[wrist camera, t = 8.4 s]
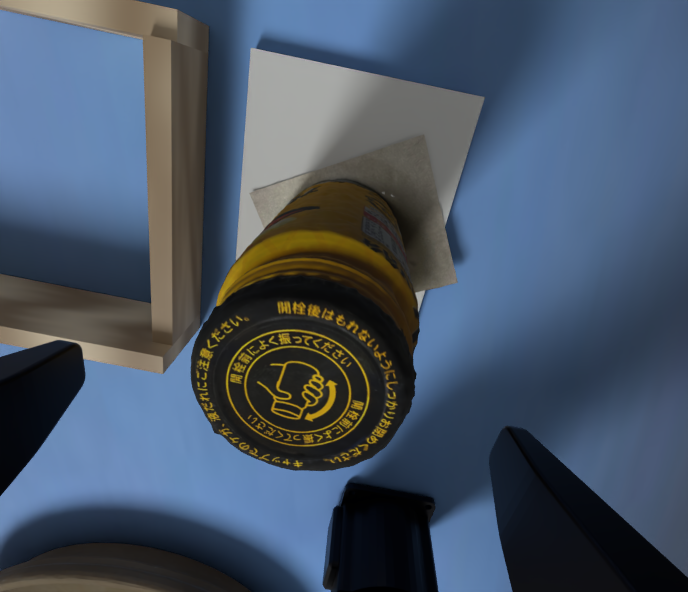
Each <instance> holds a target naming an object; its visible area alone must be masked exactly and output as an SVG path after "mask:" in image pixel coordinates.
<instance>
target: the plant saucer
mask: <svg viewBox="0 0 688 592" xmlns="http://www.w3.org/2000/svg"><path fill="white" fill-rule="evenodd" d="M0 592H251V591H250V590H248V589H247V588H246V587H245V586H243V585H242V584H240V583H239V582H237V581H236V580H234V579H233V578H231V577H229V576H227V575H226V574H224V573H222V572H220V571H218V570H216V569H214V568H212V567H210V566H208V565H205V564H203V563H201V562H198V561H195V560H193V559H190V558H187V557H185V556H181V555H178V554H175V553H172V552H168V551H164V550H160V549H156V548H151V547H145V546H139V545H132V544H120V543H87V544H78V545H71V546H66V547H62V548H57V549H54V550H51V551H48V552H45V553H43V554H41V555H38V556H36V557H34V558H32V559H31V560H29V561H27V562H24V563H21V564H18V565H15V566H12V567H9V568H6V569H4V570H2V571H0Z"/></svg>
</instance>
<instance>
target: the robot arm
mask: <svg viewBox="0 0 688 592" xmlns="http://www.w3.org/2000/svg"><path fill="white" fill-rule="evenodd" d="M84 381H85V367H84V359H83V351H82V347H81V346H80V345H79V344H78V343H75V342H69V341H64V340H55V341H52V342H48V343H45V344H42V345H38V346H35V347H32V348H29V349H25V350H22V351H19V352H15V353H12V354H9V355H6V356H2V357H0V496H1V495H2V494H3V492H4V491H5V490H6V489H7V488H8V486H9V485H10V484H11V483H12V482H13V480H14V479H15V478H16V477H17V476H18V474H19V473H20V472H21V471H22V470H23V468H24V467H25V466H26V465H27V464H28V462H29V461H30V460H31V459H32V457H33V456H34V455H35V454H36V452H37V451H38V450H39V448H40V447H41V446H42V444H43V443H44V442H45V440H46V439H47V437H48V436H49V434H50V433H51V431H52V430H53V428H54V427H55V426H56V424H57V423H58V421H59V420H60V418H61V417H62V415H63V414H64V412H65V411H66V409H67V408H68V407H69V405H70V404H71V402H72V401H73V399H74V398H75V396H76V395H77V393H78V392H79V390H80V389H81V387H82V386H83V384H84ZM489 466H490V474H491V481H492V488H493V495H494V503H495V510H496V517H497V524H498V530H499V536H500V541H501V545H502V550H503V554H504V558H505V562H506V566H507V570H508V575H509V579H510V583H511V587H512V591H513V592H688V577H687V576H685V575H684V574H683V573H682V572H681V571H680V570H679V569H678V568H677V567H676V566H675V565H673V564H672V563H671V562H670V561H669V560H668V559H667V558H666V557H665V556H664V555H663V554H661V553H660V552H659V551H658V550H657V549H656V548H655V547H654V546H653V545H652V544H650V543H649V542H648V541H647V540H646V539H645V538H644V537H643V536H642V535H641V534H640V533H638V532H637V531H636V530H635V529H634V528H633V527H632V526H631V525H630V524H629V523H627V522H626V521H625V520H624V519H623V518H622V517H621V516H620V515H619V514H618V513H617V512H615V511H614V510H613V509H612V508H611V507H610V506H609V505H608V504H607V503H606V502H604V501H603V500H602V499H601V498H600V497H599V496H598V495H597V494H596V493H595V492H594V491H592V490H591V489H590V488H589V487H588V486H587V485H586V484H585V483H584V482H583V481H582V480H580V479H579V478H578V477H577V476H576V475H575V474H574V473H573V472H572V471H571V470H569V469H568V468H567V467H566V466H565V465H564V464H563V463H562V462H561V461H560V460H559V459H557V458H556V457H555V456H554V455H553V454H552V453H551V452H550V451H549V450H548V449H546V448H545V447H544V446H543V445H542V444H541V443H540V442H539V441H538V440H537V439H536V438H534V437H533V436H532V435H531V434H530V433H529V432H528V431H527V430H525V429H523V428H518V427H513V426H505V427H503V428H502V430H501V432H500V434H499V436H498V438H497V440H496V442H495V444H494V446H493V448H492V450H491V452H490V456H489ZM434 510H435V501H434V499H432V498H430V497H424V496H419V495H414V494H408V493H403V492H398V491H392V490H387V489H381V488H376V487H371V486H365V485H360V484H355V483H349V484H347V485H346V486H345V488H344V492H343V496H342V499H341V503H340V506H336V507H335V508H334V509H333V513H332V517H331V520H330V524H329V528H328V536H327V546H326V556H325V565H324V575H323V586H324V588H325V589H328V590H331V592H438V585H437V578H436V571H435V564H434V557H433V550H432V543H431V535H430V528H429V522H430V519H431V517H432V515H433V512H434Z"/></svg>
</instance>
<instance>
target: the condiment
mask: <svg viewBox="0 0 688 592" xmlns="http://www.w3.org/2000/svg"><path fill="white" fill-rule="evenodd" d="M382 192H385V194H383V193H382ZM249 194H250V196H251V198H252V201H253V203H254V206H255V208H256V210H257V213H258V215H259V218H260V219H261V222H262V225H263V227H264V230H263V231H262V232H261V233H260V234H259V235H258V236H257V237H256V238H255V239H254V240H253V242H252V243H251V244H250V245H249V246H248V247H247V248H246V249H245V251H244V252H243V253H242V254H241V256H240V257H239V258H238V259H237V260H236V262H235V263H234V264H233V266H232V267H231V269H230V270H229V272H228V274H227V276H226V278H225V281H224V283H223V285H222V287H221V290H220V292H219V295H218V300H217V304H216V307H215V308H214V309H213V311H212V313H211V315H210V316H209V319H208V320H207V321H206V322H205V323H204V324H203V327H202V329H201V331H200V332H199V335H198V337H197V339H196V341H195V344H194V347H193V352H192V356H191V382H192V388H193V391H194V393H195V396H196V399H197V401H198V403H199V405H200V406H201V408H202V410H203V412H204V414H205V416H206V418H207V419H208V421H209V422H210V423H211V425H212V428H213V431H214V433H216V434H220V435H222V436H223V437H225V438H226V440H227V441H228V442H229V443H230V444H232V445H233V446H234V447H236V448H237V449H238V450H240V451H241V452H243V453H245V454H247V455H249V456H251V457H253V458H256V459H258V460H261V461H264V462H266V463H268V464H271V465H274V466H278V467H281V468H285V469H290V470H310V471H326V470H335V469H339V468H344V467H350V466H354V465H356V464H358V463H360V462H362V461H364V460H367V459H370V458H372V457H373V456H374V455H375V454H377V453H378V452H379V451H380V450H382V449H383V448H385V447H386V446H387V444H388V443H389V442H390V440H391V439H392V438H393V436H394V435H395V433H396V431H397V430H398V428H399V427H400V425H401V424H402V422H403V421H404V419H405V417H406V415H407V414H408V413H409V412H410V408H411V405H412V399H413V397H414V396H415V391H414V390H415V385H414V382H415V379H416V372H415V370H414V366H413V353H414V349H415V347H416V345H417V341H418V334H419V332H420V329H419V313H418V301H417V297H416V294H415V293H416V292H420V291H424V290H429V289H434V288H439V287H442V286H446V285H450V284H454V283H457V278H456V273H455V269H454V265H453V261H452V256H451V252H450V248H449V243H448V239H447V234H446V230H445V226H444V221H443V217H442V212H441V208H440V204H439V201H438V194H437V190H436V186H435V180H434V176H433V172H432V168H431V163H430V158H429V153H428V149H427V144H426V140H425V136H424V134H423V135H420V136H417V137H414V138H411V139H409V140H406V141H403V142H400V143H396V144H393V145H390V146H388V147H385V148H382V149H379V150H376V151H373V152H370V153H367V154H364V155H361V156H358V157H355V158H352V159H349V160H346V161H343V162H340V163H337V164H334V165H331V166H328V167H325V168H322V169H319V170H316V171H313V172H310V173H307V174H304V175H301V176H298V177H295V178H292V179H289V180H286V181H283V182H280V183H277V184H274V185H271V186H268V187H265V188H262V189H259V190H256V191H254V192H251V193H249ZM391 194H392V195H393V196H394V197H392V196H391Z"/></svg>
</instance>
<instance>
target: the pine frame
mask: <svg viewBox="0 0 688 592" xmlns="http://www.w3.org/2000/svg"><path fill="white" fill-rule="evenodd" d="M0 10H4V11H9V12H14V13H19V14H23V15H28V16H33V17H38V18H42V19H47V20H52V21H57V22H61V23H66V24H71V25H75V26H80V27H85V28H90V29H94V30H99V31H104V32H109V33H113V34H118V35H123V36H128V37H132V38H137V39H142V40H143V58H144V89H145V121H146V153H147V184H148V216H149V247H150V279H151V303H147V302H142V301H137V300H132V299H127V298H122V297H116V296H111V295H106V294H101V293H96V292H91V291H86V290H80V289H75V288H70V287H65V286H60V285H55V284H50V283H44V282H39V281H34V280H29V279H24V278H19V277H14V276H9V275H3V274H0V343H3V344H8V345H13V346H19V347H24V348H32V347H35V346H38V345H42V344H45V343H48V342H52V341H55V340H64V341H69V342H75V343H78V344H79V345H80V346H81V347H82V351H83V359H87V360H92V361H97V362H103V363H108V364H113V365H119V366H124V367H129V368H134V369H140V370H145V371H150V372H155V373H161V374H164V372H165V371H166V370H167V368H168V367H169V366H170V365H171V363H172V362H173V361H174V360H175V358H176V357H177V356H178V355H179V353H180V352H181V351H182V350H183V348H184V347H185V346H186V344H187V343H188V342H189V341H190V339H191V338H192V337H193V336H194V334H195V333H196V332H197V331H198V329H199V328H200V308H201V275H202V242H203V209H204V177H205V144H206V111H207V78H208V46H209V26H208V25H206V24H204V23H202V22H200V21H198V20H196V19H194V18H193V17H191V16H189V15H187V14H185V13H183V12H181V11H179V10H177V9H173V8H168V7H163V6H159V5H154V4H149V3H145V2H140V1H135V0H0Z"/></svg>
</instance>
